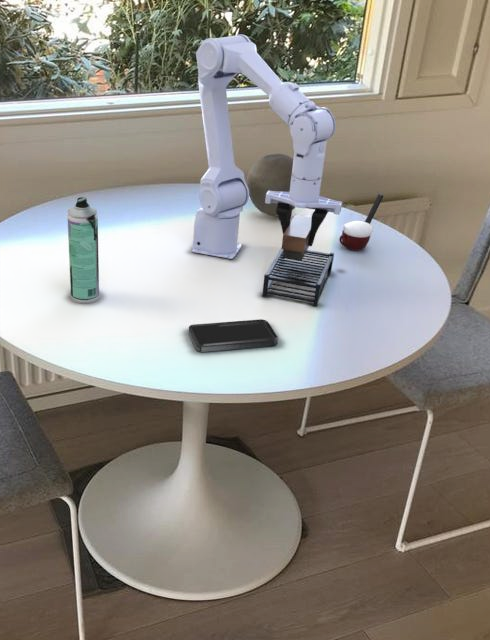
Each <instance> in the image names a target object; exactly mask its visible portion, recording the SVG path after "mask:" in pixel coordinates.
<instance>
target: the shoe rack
mask: <svg viewBox="0 0 490 640" xmlns="http://www.w3.org/2000/svg"><path fill="white" fill-rule="evenodd" d="M281 248H282V246H281V247H280V249H279V250H278V252H277V254H276V256H275V257H274V258H273V261H272V262H271V264H270V266H269V268H268V269H267V271H266V272H265V273H264V275H263V284H262V294H261V297H263V298H267V296H268V295H270V296H276V297H281V298H286V299H292V300H297V301H302V302H307V303H312V307H315V308H317V307H318V306H319V300H320V298H321V296H322V294H323V291H324V289H325V287H326V284H327V282H328V280H329V277H330V276H331V274H332V269H333V263H334V257H335V253H334V252H329V253H328V252H322V251H315V250H311V249H307V251H306V253H305V255H304V257H303V259H302V261H298V260H293V259H287V258H282V256H283V249H281ZM274 282H277V283H274ZM279 283H281V284H279ZM282 283H283V284H282ZM285 284H287V285H285ZM290 285H293V286H290ZM272 286H274V287H272ZM295 286H299V287H295ZM276 287H280V288H276ZM300 287H304V288H300ZM281 288H284V289H281ZM285 288H286V289H285ZM307 288H310V289H307ZM287 289H291V290H287ZM312 289H314V290H312ZM292 290H296V291H292ZM298 291H301V292H298ZM303 292H305V293H303ZM308 293H311V294H308ZM313 294H314V295H313Z"/></svg>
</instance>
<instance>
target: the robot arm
mask: <svg viewBox="0 0 490 640" xmlns="http://www.w3.org/2000/svg"><path fill="white" fill-rule="evenodd" d="M195 56H196V57H195V58H196V65H197V72H198V77H197V83H198V92H199V101H200V109H201V116H202V124H203V132H204V139H205V148H206V157H207V164H208V169H207V170H206V172H205V173H204V175H203V176H202V177H201V179H200V181H199V183H200V192H199V203H200V206H201V207H200V208H198V210H197V212H196V214H195V218H194V224H193V225H194V226H193V239H192V240H193V241H192V249H191V252H192V253H195V254H199V255H200V254H201V255H206V256H211V257H218V258H223V259H227V260H229V259H230V260H233V259H235V257H236V256H237V254H238V253H239V251H240V250H241V249H242V247H243V244H242V243H239V242H238V239H239V228H240V217H241V213H242V212H243V208H244V206H246V205H247V203H248V202H249V200H250V196H249V189H248V186H247V181H246V180H245V172H244V171H242V170H241V169H240V168H239V167H238V166H236V163H235V156H234V155H235V154H234V147H233V138H232V129H231V121H230V112H229V104H228V95H227V86H228V85H229V84H230V82H231V81H232V79H233V78H234V77H236V76H237V75H238V74H243V75H244V76H245V77H246V78H247V79H248V80H250V81H251V82H252V83H253V84H254V85H255V86H257V87H258V88H259V89H260V90H261V91H262V92H263V93H264V94H265V95H267V96H268V103H269V104H268V105H269V107H270V108H271V109H272V110H273V111H274V112H275V114H277V115H278V116H279V117H280V118H281V119H282V120H283V122H285V124H286V125H287V126H288V127H289V132H290V136H291V139H292V141H293V143H292V149H293V167H292V175H291V184H290V192H277V191H268V192H267V193H266V199H265V203H268V204H270V203H276V204H278V206H277V208H276V213H277V215H276V216H277V218H278V220H279V223H280V226H281V231H282V235H283V234H284V232H285V231H286V229H287V228H288V226H289V224H290V223H291V221H292V215H293V210H294V209H293V206H294V207H295V208H296V209H297V208H298V209H308V210H313V212H312V214H311V218H312V221H311V232H310V236H309V242H308V246H309V247H312V246H313V244H314V242H315V239H316V235H317V232H318V230H319V228H320V226H321V225H322V223H323V221H324V220H325V219H326V217H327V215H328V213H333V214H334V215H340V214H341V212H342V206H343V201H339V200H335V199H331V198H327V197H324V196H321V195H320V193H321V186H322V180H323V172H324V165H325V159H326V152H327V144H328V140H329V139H331V138H332V137H333V136H334V134H335V132H336V128H337V125H336V124H337V123H336V119H335V116H334V114H333V112H331V110H330V109H329V108H327V107H319V106H317V105H316V103H315V102H314V101H312V100H310V99H309V98H308V97H307V96H306V95H305V94H304V93H303V92H302V91H301V90H300V86H299V84H297V83H296V82H294V83H293V82H291V81H286V82H283V81H282V80H281V79H280V77H279V76H278V75H277V74H276V73H275V72H274V71H273V69H271V67H270V65H268V63H267V62H266V61H265V60H264V59H263V58H262V57H261V56H260V54H259V53H258V52H257V45H256V43H254V42H253V41H251V39H250V38H249V37H248V36H247V35H245V34H241V33H239V34H236V35H231V36H224V37H216V38H213V37H209V38H206V39H203V41H202V43H201V44H200V45H199V47H198V48H197V50H196V51H195ZM292 209H293V210H292Z"/></svg>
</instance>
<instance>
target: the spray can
mask: <svg viewBox="0 0 490 640" xmlns="http://www.w3.org/2000/svg"><path fill="white" fill-rule="evenodd" d="M97 213H98V211H97V209H96V208H94V207H92V206H91V205H90V204H89V202H88V199H87V198H86V197H83V196H82V197H81V196H80V197H78V198H77V199H76V203H75V204H74V206H73V207H70V208H68V211H67V236H68V238H67V239H68V260H69V282H70V283H69V284H70V298H71V300H72V301H73V302H76V303H78V304H91V303H94V302H95V303H96V302H97V301H98V300H99V299H100V269H99V268H100V266H99V264H100V263H99V262H100V261H99V222H98V221H99V219H98V216H99V215H98V214H97Z"/></svg>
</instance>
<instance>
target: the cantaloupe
mask: <svg viewBox="0 0 490 640" xmlns="http://www.w3.org/2000/svg"><path fill="white" fill-rule="evenodd" d="M293 159H294V157H292V156H289V155H287V154H284V153H272V154H271V153H270V154H266V155H263V156H262V157H260V158H258V159H257V161H256V162H254V164H253V165H252V166H251V168H250V169H249V171H248V174H247V178H246V184H247V186H248V189H249V200H250V201H251V203H252V204H253V206H254V207H255V208H256V210H258V211H259V212H261V213H263V214H265V215H268V216H272V217H275V216H278V215H277V213H276V208H277V206H278V204H276V203H270V204H268V203H265V199H266V193H267V192H268V191H277V192H290V184H291V175H292V167H293ZM295 208H296V207H294V206H293V209H292V211H293V210H295Z"/></svg>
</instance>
